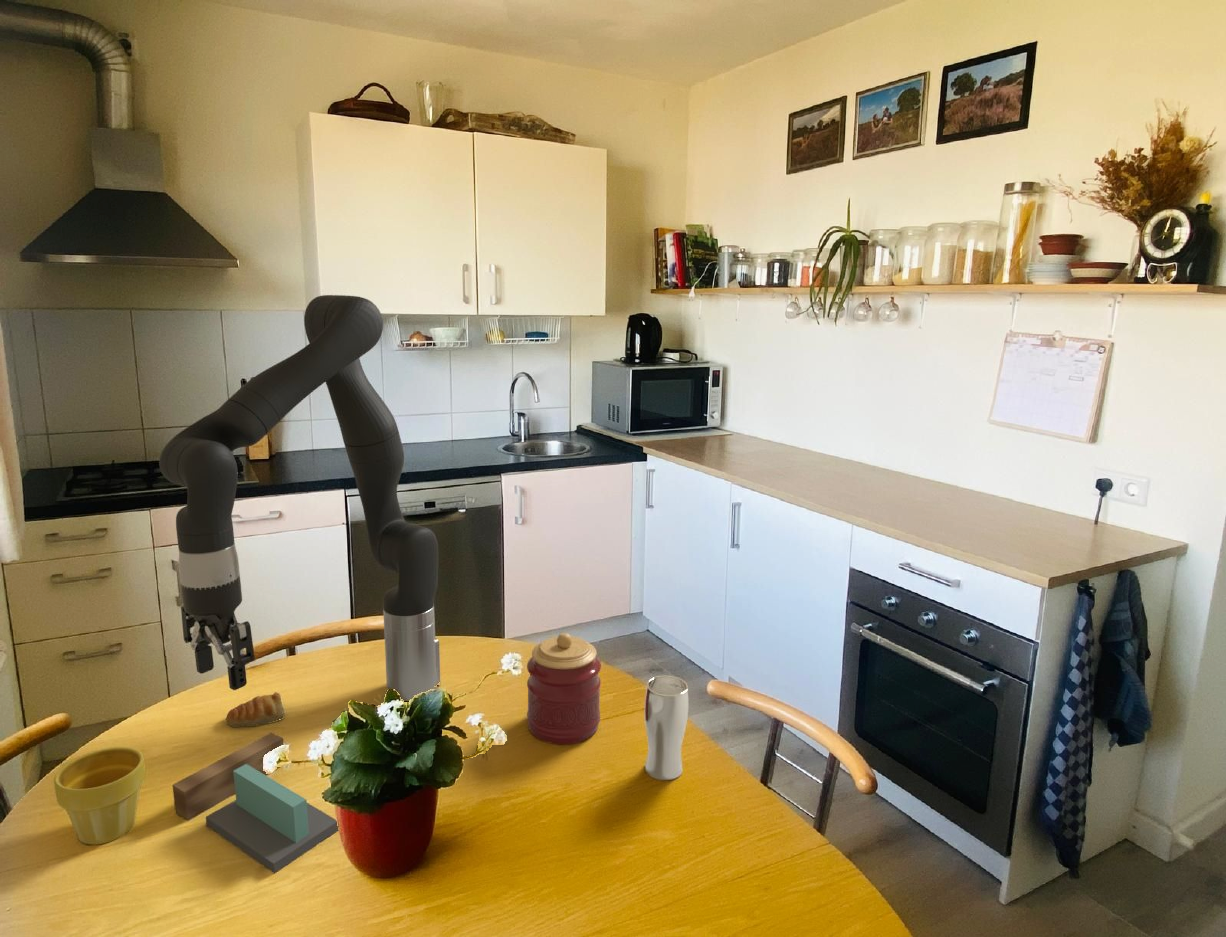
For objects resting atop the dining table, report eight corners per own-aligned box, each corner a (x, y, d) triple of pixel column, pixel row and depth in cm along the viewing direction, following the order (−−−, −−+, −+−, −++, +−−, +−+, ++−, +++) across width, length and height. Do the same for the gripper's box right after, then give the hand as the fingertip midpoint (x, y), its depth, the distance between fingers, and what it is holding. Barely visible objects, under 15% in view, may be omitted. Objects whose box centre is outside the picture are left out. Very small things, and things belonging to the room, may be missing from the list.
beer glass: (662, 788, 118) (666, 701, 115) (633, 766, 124) (636, 682, 120) (694, 771, 123) (698, 687, 119) (664, 751, 128) (668, 670, 125)
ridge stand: (270, 789, 116) (267, 748, 114) (338, 830, 107) (335, 786, 106) (206, 825, 108) (201, 782, 106) (274, 873, 99) (270, 827, 98)
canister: (598, 747, 129) (600, 652, 125) (522, 745, 129) (521, 649, 125) (601, 707, 141) (603, 619, 137) (531, 704, 142) (531, 617, 138)
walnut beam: (273, 759, 124) (271, 732, 122) (285, 765, 122) (283, 738, 121) (175, 815, 110) (172, 784, 109) (187, 822, 109) (184, 791, 108)
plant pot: (157, 798, 113) (150, 739, 111) (143, 844, 104) (135, 781, 102) (75, 813, 110) (66, 753, 107) (53, 862, 100) (42, 797, 98)
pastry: (228, 735, 130) (226, 715, 129) (224, 717, 136) (222, 697, 135) (287, 720, 135) (285, 701, 134) (281, 703, 140) (279, 684, 140)
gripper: (264, 578, 107) (273, 682, 111) (208, 558, 115) (219, 656, 119) (212, 595, 101) (224, 705, 105) (157, 573, 109) (170, 675, 113)
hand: (221, 679), depth 112 cm, fingers open, 8 cm apart
